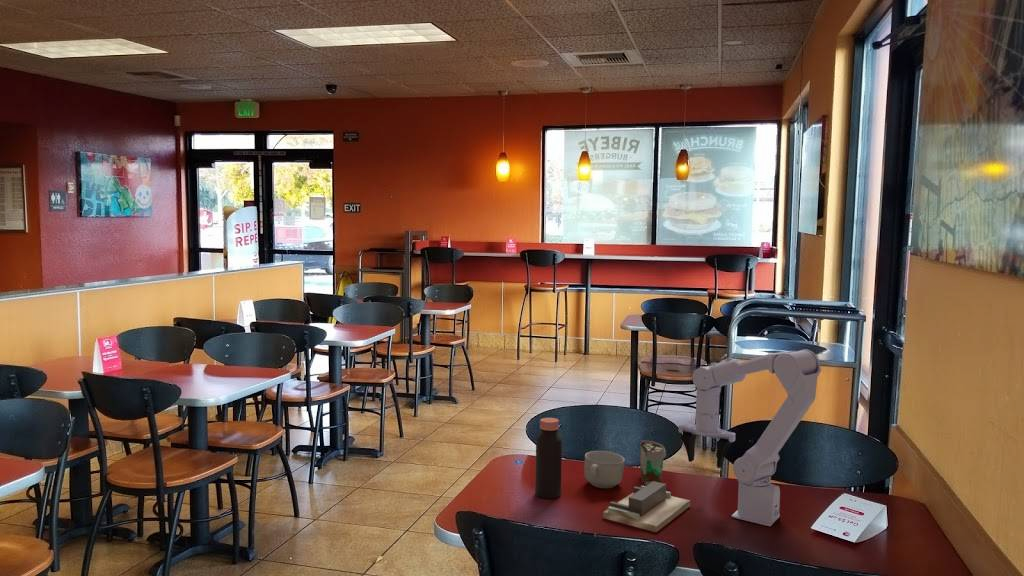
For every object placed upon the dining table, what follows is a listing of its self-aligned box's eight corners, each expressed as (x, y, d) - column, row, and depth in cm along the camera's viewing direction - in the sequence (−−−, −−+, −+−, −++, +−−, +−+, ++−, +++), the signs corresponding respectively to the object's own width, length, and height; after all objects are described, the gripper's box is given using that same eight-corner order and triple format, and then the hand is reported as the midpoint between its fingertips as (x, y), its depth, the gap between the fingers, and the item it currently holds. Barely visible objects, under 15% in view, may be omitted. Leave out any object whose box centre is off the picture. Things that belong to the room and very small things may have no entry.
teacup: (598, 475, 217) (598, 447, 216) (631, 484, 210) (632, 455, 209) (569, 488, 206) (570, 459, 205) (603, 498, 199) (604, 468, 198)
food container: (669, 489, 206) (670, 453, 205) (646, 489, 206) (647, 453, 205) (661, 474, 218) (662, 439, 217) (639, 473, 218) (640, 439, 217)
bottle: (565, 497, 199) (566, 422, 197) (541, 500, 197) (542, 424, 195) (554, 488, 205) (555, 415, 203) (531, 491, 203) (532, 417, 201)
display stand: (689, 506, 194) (690, 495, 194) (656, 532, 178) (656, 521, 178) (639, 493, 202) (639, 484, 202) (602, 517, 186) (603, 507, 186)
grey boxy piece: (665, 499, 195) (666, 484, 194) (641, 516, 183) (642, 500, 183) (635, 492, 200) (635, 477, 199) (609, 508, 188) (610, 492, 188)
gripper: (674, 410, 198) (672, 462, 199) (729, 420, 190) (727, 473, 191) (685, 405, 204) (683, 455, 205) (739, 414, 195) (736, 466, 197)
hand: (705, 463), depth 198 cm, fingers open, 7 cm apart
